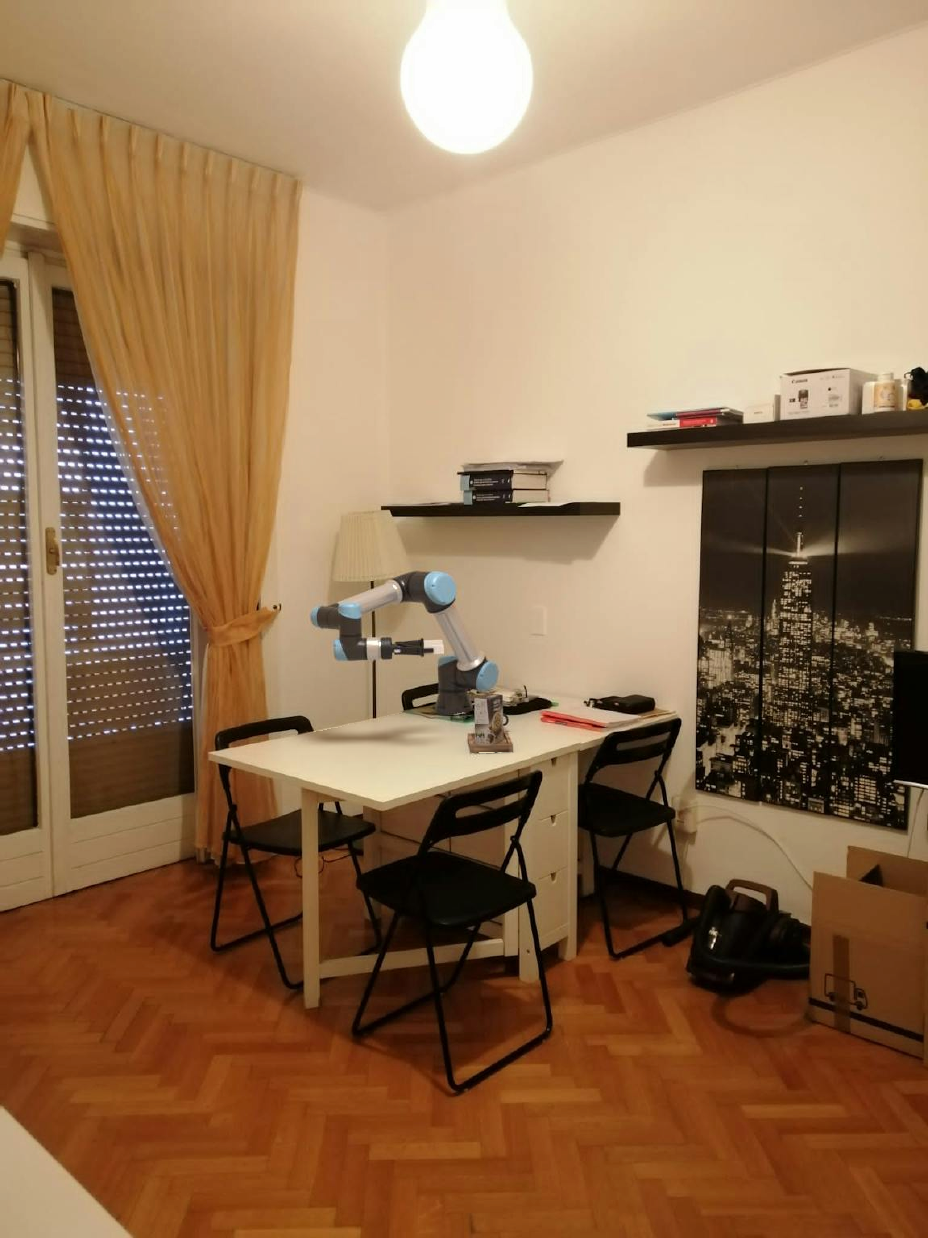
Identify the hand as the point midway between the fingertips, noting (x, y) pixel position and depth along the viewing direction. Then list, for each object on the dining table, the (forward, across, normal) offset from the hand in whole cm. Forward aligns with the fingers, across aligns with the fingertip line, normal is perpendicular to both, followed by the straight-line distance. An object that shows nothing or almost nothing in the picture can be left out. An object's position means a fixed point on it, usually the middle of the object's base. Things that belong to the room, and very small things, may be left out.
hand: (443, 646), depth 306 cm
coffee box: (+15, +4, -33) cm, 36 cm away
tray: (+15, +4, -34) cm, 37 cm away
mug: (+18, -17, -34) cm, 42 cm away
